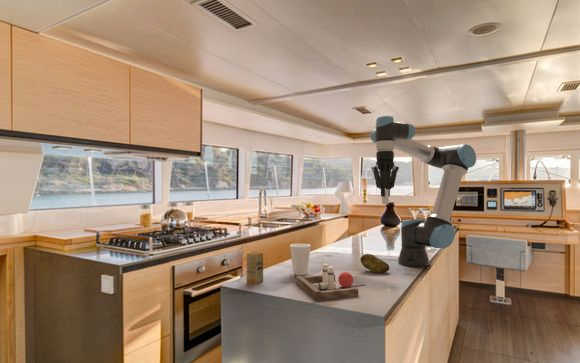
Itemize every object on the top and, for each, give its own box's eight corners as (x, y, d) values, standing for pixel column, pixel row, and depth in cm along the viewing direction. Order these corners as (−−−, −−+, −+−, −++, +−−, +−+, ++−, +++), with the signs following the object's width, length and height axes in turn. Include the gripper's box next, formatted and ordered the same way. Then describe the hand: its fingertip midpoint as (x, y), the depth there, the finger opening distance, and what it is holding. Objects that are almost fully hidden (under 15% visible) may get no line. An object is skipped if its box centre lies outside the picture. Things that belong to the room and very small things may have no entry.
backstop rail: (333, 279, 146) (333, 272, 146) (358, 295, 125) (358, 287, 125) (296, 283, 141) (296, 276, 141) (315, 300, 120) (315, 291, 120)
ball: (332, 279, 137) (342, 288, 138) (339, 283, 131) (350, 292, 133) (341, 267, 138) (351, 276, 140) (348, 271, 132) (358, 280, 134)
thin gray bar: (364, 284, 139) (364, 284, 139) (365, 285, 138) (365, 284, 138) (346, 286, 136) (346, 286, 136) (347, 287, 135) (347, 286, 135)
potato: (381, 275, 152) (381, 258, 152) (357, 270, 162) (357, 254, 162) (391, 272, 158) (391, 255, 158) (367, 267, 167) (367, 251, 167)
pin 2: (332, 289, 133) (332, 266, 133) (335, 291, 130) (334, 267, 130) (326, 290, 132) (326, 266, 132) (329, 291, 129) (328, 268, 130)
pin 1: (327, 285, 137) (327, 263, 137) (329, 287, 135) (329, 265, 135) (321, 286, 137) (321, 264, 137) (324, 288, 134) (323, 265, 134)
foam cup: (313, 272, 160) (313, 244, 160) (306, 276, 151) (305, 247, 151) (295, 269, 164) (295, 243, 164) (286, 274, 155) (286, 246, 155)
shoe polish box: (263, 281, 144) (263, 253, 144) (256, 284, 140) (256, 255, 140) (253, 280, 146) (253, 252, 147) (246, 282, 142) (246, 254, 142)
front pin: (333, 281, 136) (312, 282, 133) (335, 282, 133) (314, 284, 131) (333, 287, 135) (312, 289, 133) (336, 288, 133) (314, 290, 131)
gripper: (392, 152, 157) (393, 203, 156) (367, 151, 153) (368, 203, 152) (402, 150, 149) (403, 204, 149) (376, 149, 146) (377, 204, 145)
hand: (385, 204), depth 151 cm, fingers closed
